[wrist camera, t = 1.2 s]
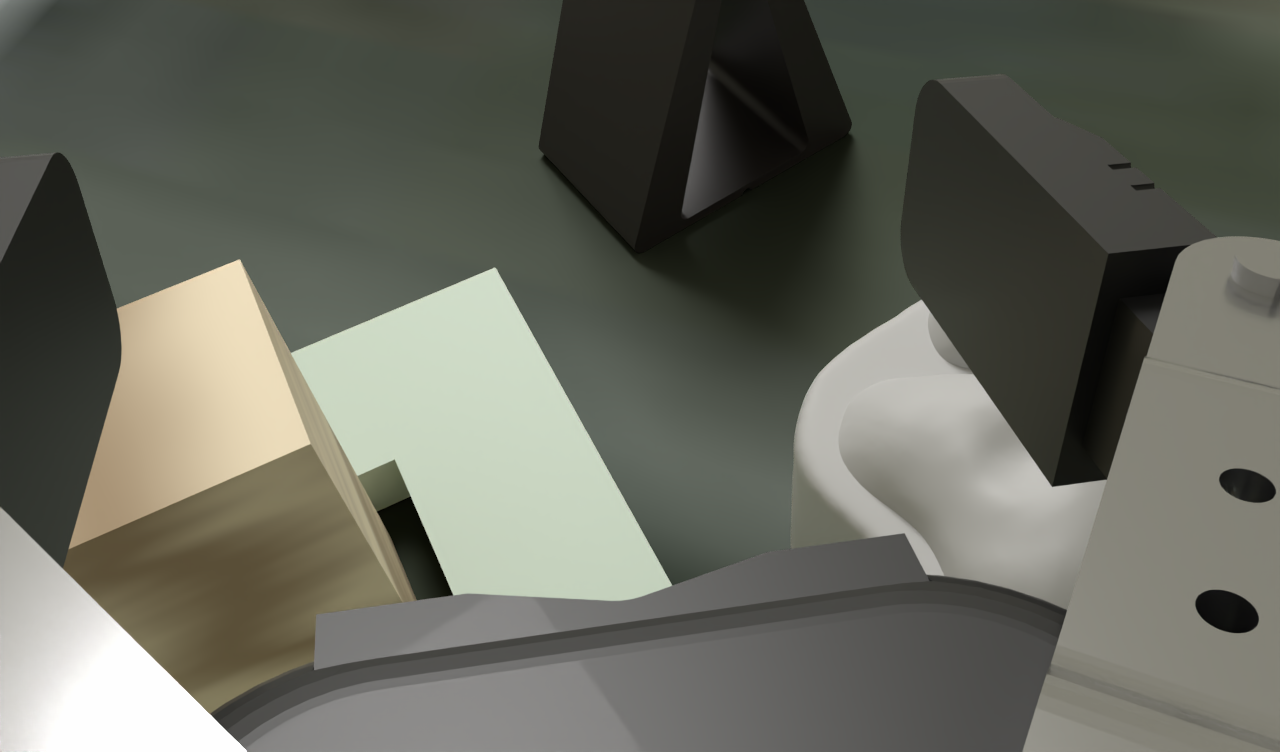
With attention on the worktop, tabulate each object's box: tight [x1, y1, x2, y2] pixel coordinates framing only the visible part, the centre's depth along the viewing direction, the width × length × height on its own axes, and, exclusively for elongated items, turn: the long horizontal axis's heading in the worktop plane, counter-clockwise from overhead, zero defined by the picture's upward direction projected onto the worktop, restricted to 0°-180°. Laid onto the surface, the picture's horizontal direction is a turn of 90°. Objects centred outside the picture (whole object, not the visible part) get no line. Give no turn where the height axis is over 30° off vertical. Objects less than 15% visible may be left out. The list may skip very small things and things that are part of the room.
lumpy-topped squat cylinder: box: [791, 300, 1107, 610], centre depth 29 cm, size 10×13×9 cm
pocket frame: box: [291, 268, 672, 601], centre depth 32 cm, size 17×17×2 cm
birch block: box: [63, 260, 417, 714], centre depth 28 cm, size 5×5×12 cm
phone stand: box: [539, 0, 852, 253], centre depth 37 cm, size 9×6×12 cm, turn 124°
